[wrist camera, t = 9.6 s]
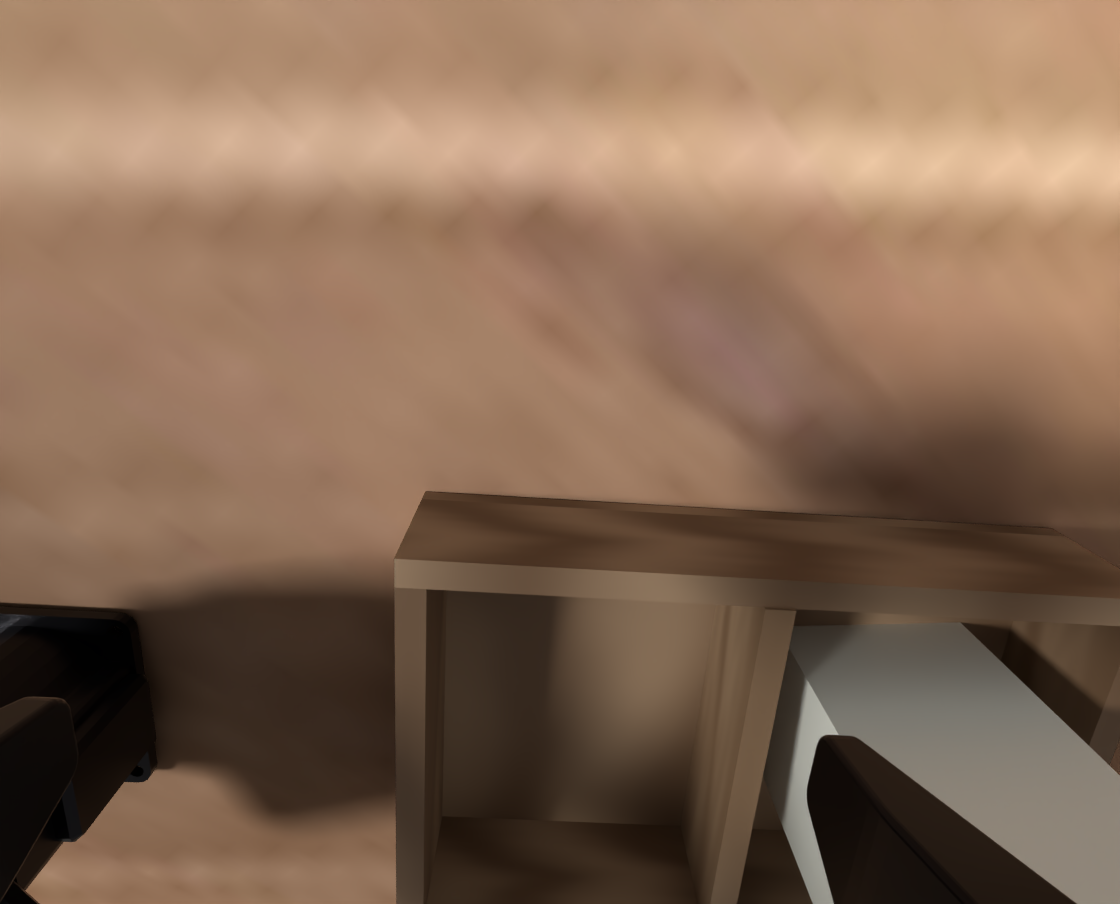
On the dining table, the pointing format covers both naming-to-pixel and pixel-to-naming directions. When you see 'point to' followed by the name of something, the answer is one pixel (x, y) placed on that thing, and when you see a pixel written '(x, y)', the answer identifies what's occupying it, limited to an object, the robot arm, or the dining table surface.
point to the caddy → (947, 748)
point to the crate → (674, 680)
